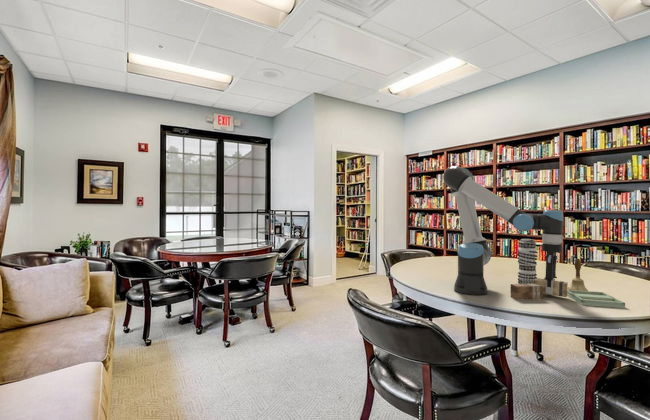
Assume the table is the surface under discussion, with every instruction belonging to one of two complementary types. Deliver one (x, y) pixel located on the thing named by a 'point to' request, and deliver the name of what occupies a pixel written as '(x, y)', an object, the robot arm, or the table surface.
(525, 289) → the walnut bar
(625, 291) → the table surface
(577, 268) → the hand bell
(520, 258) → the decorative candle
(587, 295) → the pale green flat frame
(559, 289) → the oak bar
